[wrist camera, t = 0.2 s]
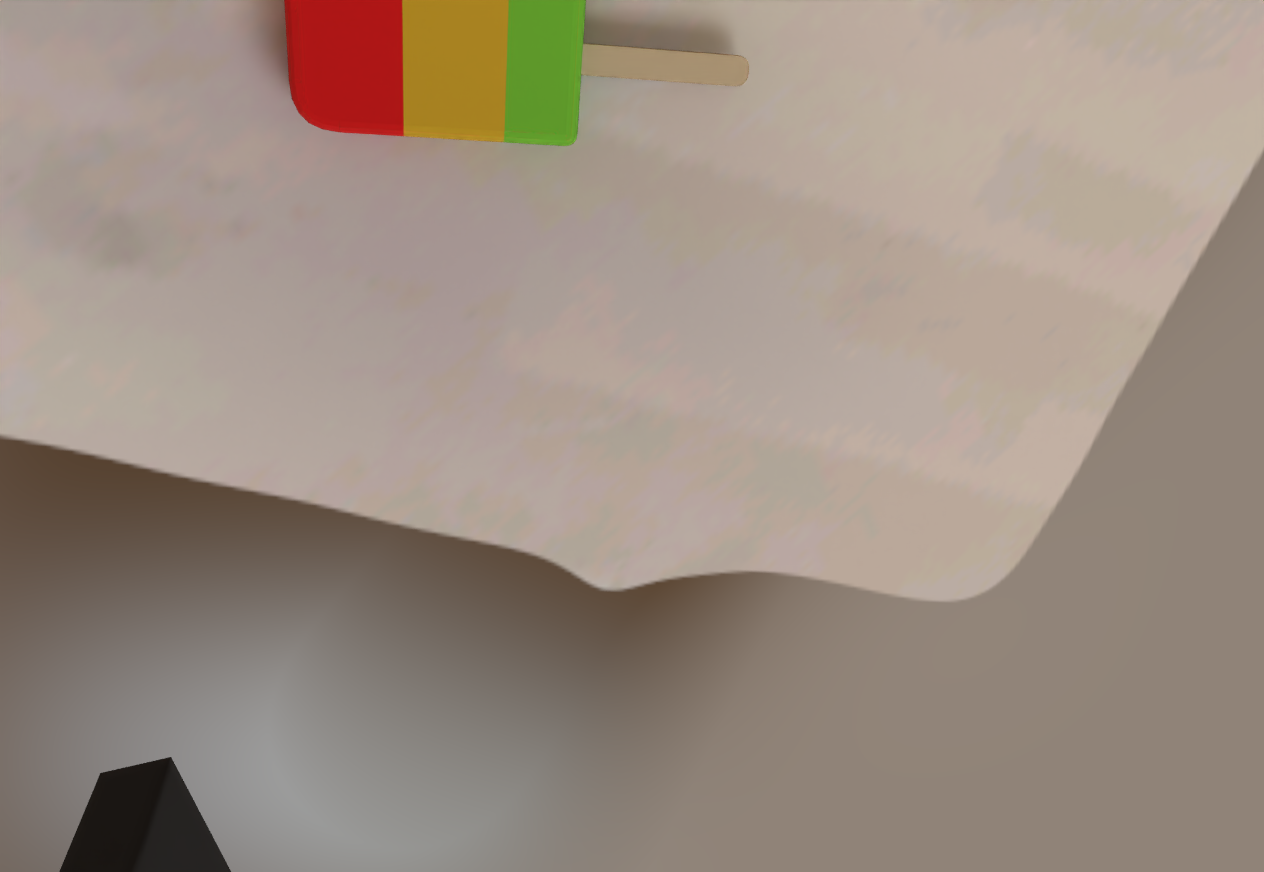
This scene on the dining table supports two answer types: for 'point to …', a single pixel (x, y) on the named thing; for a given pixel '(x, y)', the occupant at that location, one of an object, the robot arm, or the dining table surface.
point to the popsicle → (464, 67)
